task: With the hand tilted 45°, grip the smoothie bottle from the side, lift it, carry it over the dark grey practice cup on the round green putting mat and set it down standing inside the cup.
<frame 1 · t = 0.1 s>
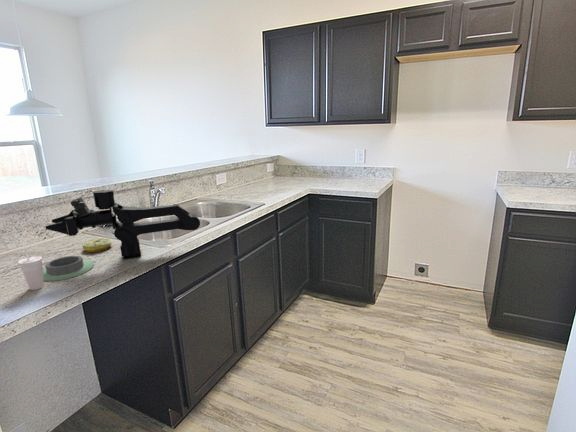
hand: (48, 224, 121), 17 cm above the counter, tool horizontal, fingers open, 9 cm apart
putting green cup: (66, 270, 122), on the counter
smoothie: (37, 287, 110), on the counter
decorated donut: (98, 249, 144), on the counter
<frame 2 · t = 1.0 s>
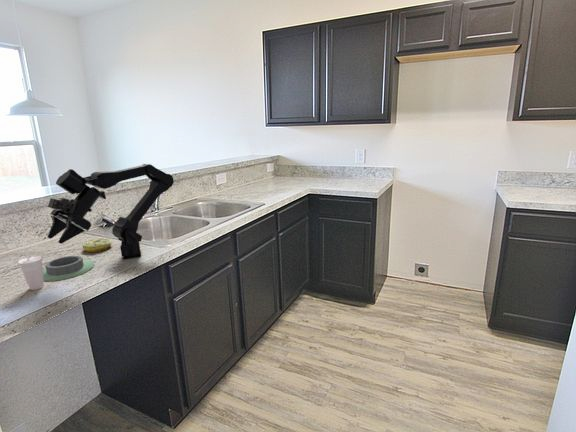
hand: (54, 240, 112), 14 cm above the counter, tool tilted 45°, fingers open, 9 cm apart
nothing on the counter moved.
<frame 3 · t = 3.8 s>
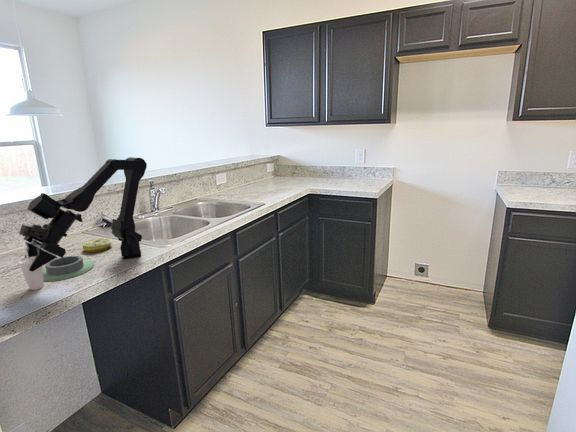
hand: (26, 268, 107), 7 cm above the counter, tool tilted 45°, fingers closed on smoothie, 6 cm apart
smoothie: (37, 287, 110), on the counter, touching gripper
everything else where it was.
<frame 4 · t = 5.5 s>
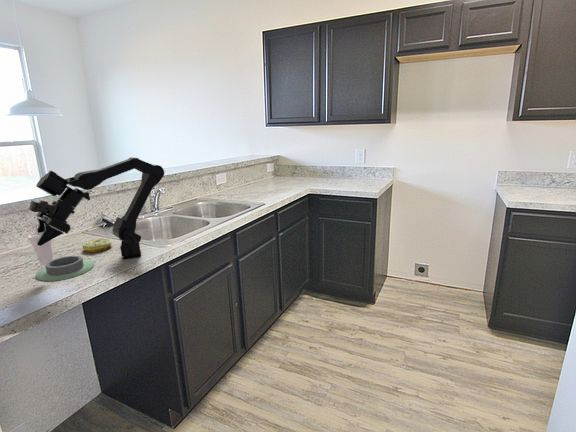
hand: (36, 243, 111), 13 cm above the counter, tool tilted 45°, fingers closed on smoothie, 6 cm apart
smoothie: (46, 262, 114), point 6 cm above the counter, touching gripper
everything else where it was.
when the fingers open (9 cm above the counter, at t = 7.6 s): smoothie drops 1 cm, resting on putting green cup.
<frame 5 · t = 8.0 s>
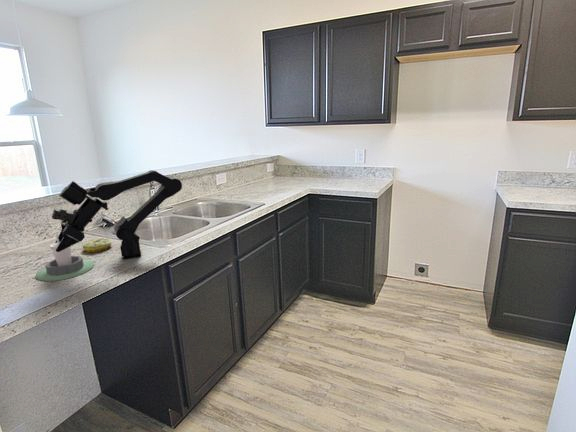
hand: (56, 247, 119), 9 cm above the counter, tool tilted 45°, fingers open, 9 cm apart
smoothie: (66, 269, 122), resting on putting green cup
everything else where it was.
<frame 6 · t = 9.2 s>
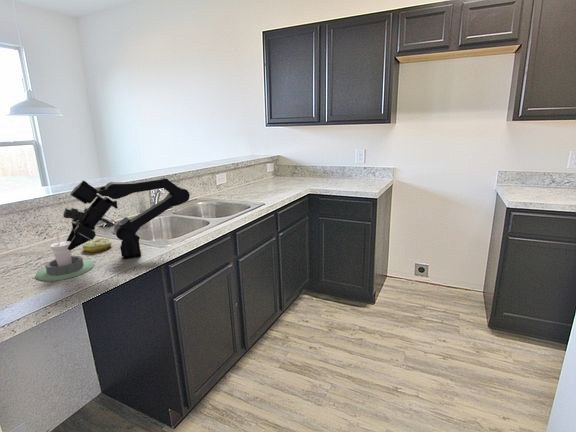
hand: (67, 246, 121), 9 cm above the counter, tool tilted 45°, fingers open, 9 cm apart
nothing on the counter moved.
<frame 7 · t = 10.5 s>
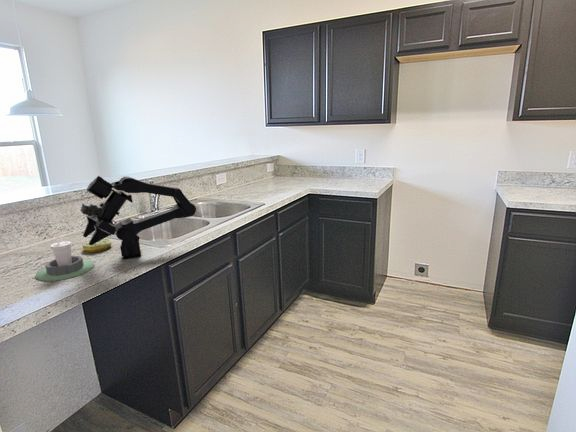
hand: (87, 240, 124), 10 cm above the counter, tool tilted 40°, fingers open, 9 cm apart
nothing on the counter moved.
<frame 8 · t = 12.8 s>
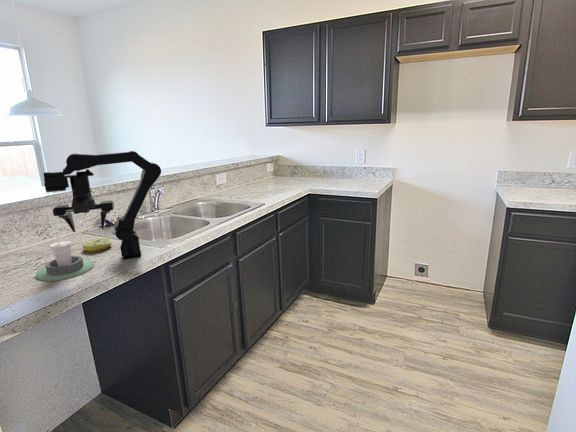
hand: (88, 230, 125), 13 cm above the counter, tool pointing down, fingers open, 9 cm apart
nothing on the counter moved.
at the end: smoothie 0.1 cm off-centre on the putting green cup, point 0.2 cm above the putting green cup's base; smoothie tilted 0°; the gripper is holding nothing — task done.
